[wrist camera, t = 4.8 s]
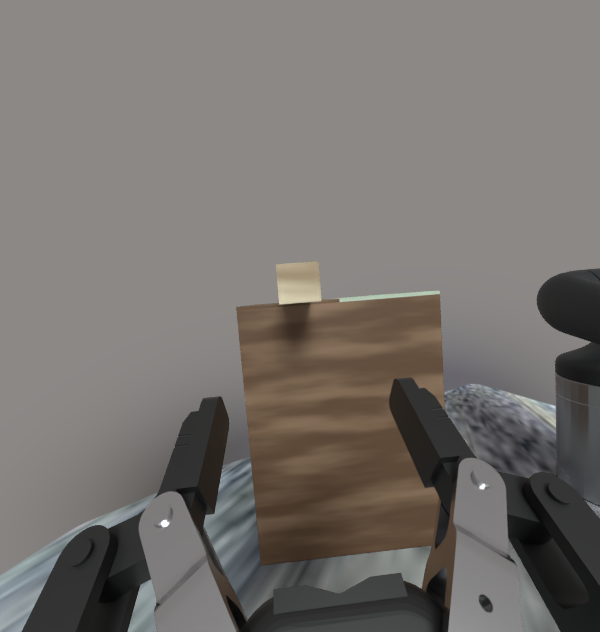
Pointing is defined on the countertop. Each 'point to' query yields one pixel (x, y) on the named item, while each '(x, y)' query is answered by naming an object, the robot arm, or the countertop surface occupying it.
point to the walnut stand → (337, 422)
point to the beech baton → (298, 282)
